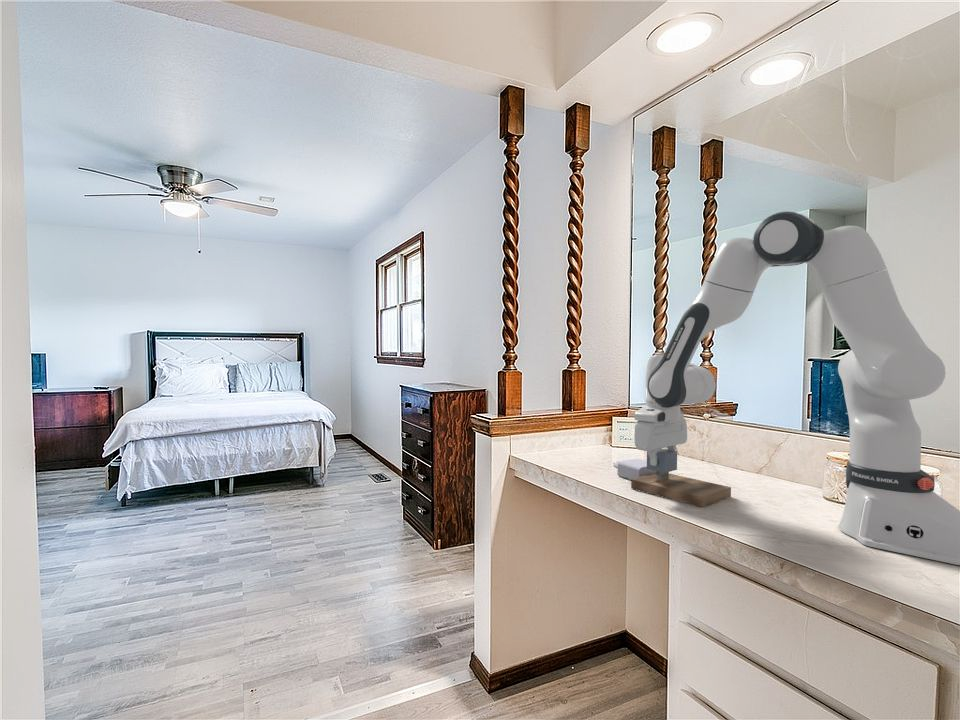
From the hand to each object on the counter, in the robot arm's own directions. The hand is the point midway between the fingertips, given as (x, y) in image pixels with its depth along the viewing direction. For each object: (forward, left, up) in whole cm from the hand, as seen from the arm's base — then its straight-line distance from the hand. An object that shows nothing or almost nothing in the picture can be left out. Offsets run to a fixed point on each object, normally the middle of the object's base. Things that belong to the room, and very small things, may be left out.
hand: (661, 463), depth 131 cm
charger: (+13, -5, -7) cm, 16 cm away
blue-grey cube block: (0, 0, -2) cm, 2 cm away
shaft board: (-5, 0, -7) cm, 9 cm away
